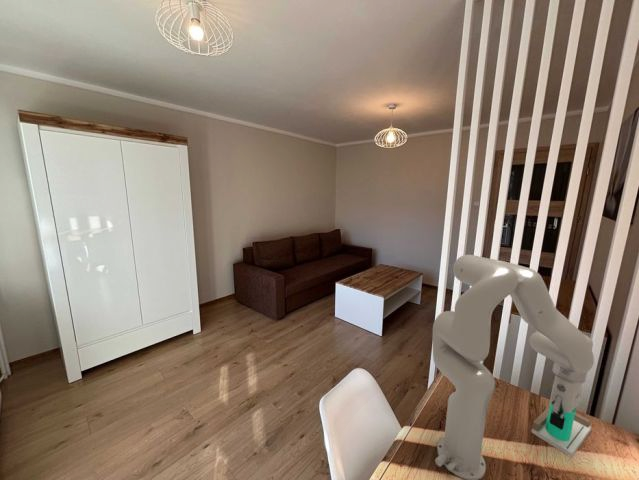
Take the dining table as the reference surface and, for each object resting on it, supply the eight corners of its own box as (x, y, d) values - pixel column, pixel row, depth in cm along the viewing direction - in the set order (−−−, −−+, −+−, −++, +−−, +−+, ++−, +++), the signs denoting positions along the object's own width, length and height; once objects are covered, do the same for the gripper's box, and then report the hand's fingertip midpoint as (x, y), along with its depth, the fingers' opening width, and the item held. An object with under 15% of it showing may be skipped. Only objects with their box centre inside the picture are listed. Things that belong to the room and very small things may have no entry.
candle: (560, 425, 88) (566, 393, 86) (575, 442, 82) (582, 408, 80) (540, 423, 89) (546, 392, 87) (554, 439, 83) (561, 406, 81)
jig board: (571, 457, 79) (573, 446, 78) (531, 432, 87) (533, 421, 87) (590, 430, 88) (592, 420, 88) (552, 410, 97) (554, 400, 96)
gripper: (575, 388, 74) (564, 444, 77) (594, 369, 83) (584, 419, 86) (543, 373, 81) (533, 425, 84) (563, 356, 89) (554, 404, 92)
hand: (559, 421), depth 85 cm, fingers closed on candle, 4 cm apart
